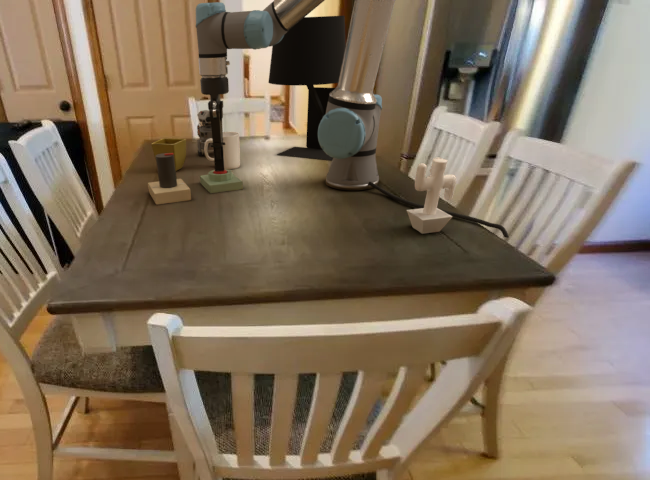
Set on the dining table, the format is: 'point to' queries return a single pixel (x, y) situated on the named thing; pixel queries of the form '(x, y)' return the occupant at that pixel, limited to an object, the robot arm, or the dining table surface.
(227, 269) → the dining table surface
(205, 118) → the figurine
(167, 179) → the dimmer knob
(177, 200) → the dimmer panel
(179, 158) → the flower pot
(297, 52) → the table lamp
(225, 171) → the button
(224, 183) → the switch box
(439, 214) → the figurine
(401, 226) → the dining table surface
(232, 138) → the cup
